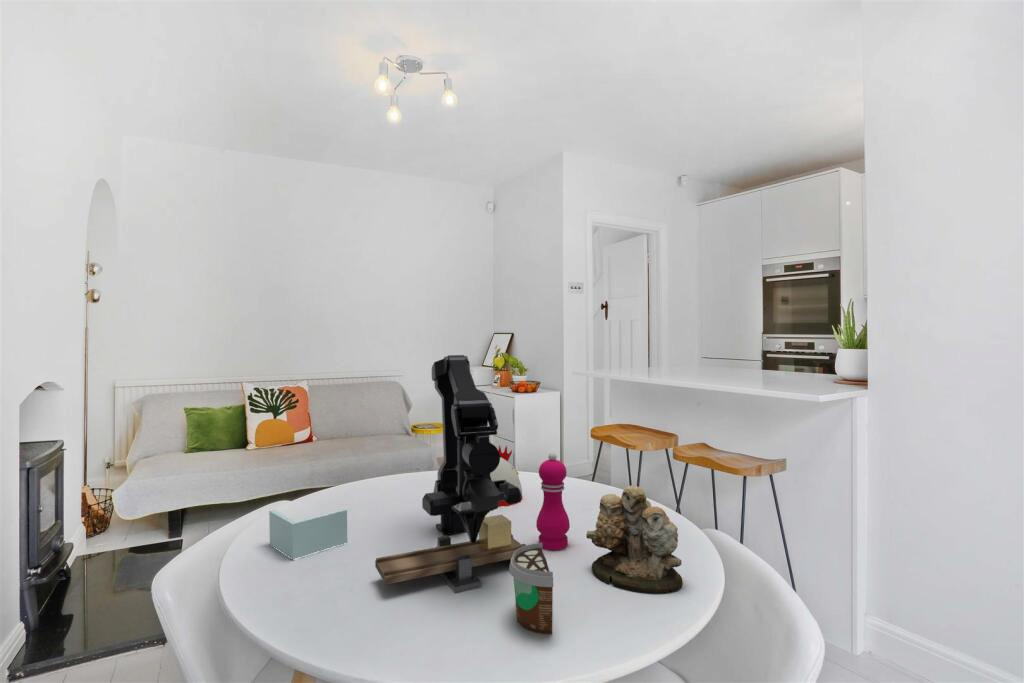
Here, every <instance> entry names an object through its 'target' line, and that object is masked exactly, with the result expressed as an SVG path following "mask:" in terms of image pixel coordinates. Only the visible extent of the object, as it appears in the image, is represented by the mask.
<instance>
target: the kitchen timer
mask: <svg viewBox="0 0 1024 683" xmlns="http://www.w3.org/2000/svg"><path fill="white" fill-rule="evenodd" d="M493 445H494V446H495V447H496V445H495V444H493ZM498 451H499V454H500V462H499V465H498V467H497V468H496V469H495V470H494V471H493V472H491V473H490V477H491V480H492V481H498V480H506V481H507V482H509V483H511V484H513V485H514V486H516V487H518V488H519V489H520V491H521V500H522V501H523V489H522V488H523V487H522V483H521V480H520V478H519V472H518V470H516V469H515V467H514V466H513V464H512V463H511V462H510V461H509V460H510V457H511V455H512V452H513V449H511V450H510V451H509V453H508V446H507V445H505V447H504V451H502V449H501V445H499V446H498ZM517 504H518V503H513V504H507V503H506V502H505V501H504V500H503V501H499V506H498V508H500V507H501V506H504V507H510V505H511V506H514V505H517Z"/></svg>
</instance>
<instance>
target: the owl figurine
mask: <svg viewBox="0 0 1024 683" xmlns="http://www.w3.org/2000/svg"><path fill="white" fill-rule="evenodd" d="M596 519H597V520H596V522H595V528H596V529H595V530H588V531H586V535H585V537H586V539H589V540H591V544H593V545H594V546H595V547H597V548H601V549H602V548H603V549H607V550H608V552H606V553H604V554H603V555H600V556H599V557H597V559H596V560H594V561H593V562H592V563H591V571H592V574H593V576H595V578H596V579H597V580H599V581H601V582H602V583H603V582H604V583H606V584H607V585H609V584H610V583H611V585H612V586H613V587H614V588H617V589H622V590H625V591H629V592H634V593H640V594H641V593H642V594H652V595H657V594H658V595H660V594H661V595H664V594H667V593H670V591H671V593H674V592H677V591H678V590H680V589H681V588H682V587H683V584H684V583H683V578H682V576H681V574H680V573H679V572H678V571H677V570H676V569H675V568H678V567H680V566H682V559H681V558H679V557H677V556H675V555H673V554H672V553H674V552H675V551H676V549H677V548H678V543H679V539H678V537H679V533H678V526H677V525H675V524H674V522H672V521H671V520H670V517H669V516H668V515H667V513H666V511H665V510H664V509H663V508H661V507H658V506H652V504H651V502H650V501H649V500H647V494H646V492H645V491H644V490H643V489H642V488H641V487H639V486H638V485H637V486H636V485H634V484H633V485H629V486H626V487H624V489H623V490H622V494H621V497H620V496H618V495H616V494H615V493H606V494H605V495H602V496H601V498H600V501H599V512H598V515H597V518H596ZM610 578H611V579H610Z"/></svg>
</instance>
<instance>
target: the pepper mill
mask: <svg viewBox="0 0 1024 683" xmlns="http://www.w3.org/2000/svg"><path fill="white" fill-rule="evenodd" d="M547 457H548V459H547V460H545V461H543V462H542V463H541V464H540V465H539V467H538V468H539V469H538V476H539V478H540V479H541V483H540V484H541V486H540V490H541V491H542V493H543V503H542V506H541V509H540V510H539V512H538V515H537V518H536V524H535V526H536V529H537V531H538V532H539V533H540V534H539V535H538V543H542V549H544V550H547V551H548V550H549V551H561V550H563V549H566V548H567V547H568V545H569V544H568V543H569V542H568V540H569V539H568V536H567V535H566V534H567V533H568V532H569V530H570V526H571V525H570V523H571V522H570V519H569V516H568V513H567V511H566V509H565V506H564V504H563V491H564V490H565V486H564V485H565V482H564V480H565V479H566V477H567V467H566V466H565V464H564V463H563V462H562V461H561V460H558V459H557V458H558V457H557V454H556V453H554V452H550V453H549V454H548V456H547Z"/></svg>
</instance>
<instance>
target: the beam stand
mask: <svg viewBox="0 0 1024 683" xmlns="http://www.w3.org/2000/svg"><path fill="white" fill-rule="evenodd" d="M436 543H437V545H436V547H440V546H446V545H451V544H452V537H451V536H450V535H444V536H440V537H437V538H436ZM503 561H504V562H505V563H506V565H508V566H510V562H511V559H507V560H503ZM439 575H440V576H441V578H442V579H443V578H444V579H443V580H444V582H446V584H447V583H448V584H449V585H448V584H447V585H448V586H449V587H450V589H451V590H452V589H453V590H452V591H453V592H454V593H455V594H457V593H461V592H465V591H469V590H474V589H478V588H482V581H481V580H480V578H478V576H477V575H476V574H475V573H474V572H473V571H472V567H471V557H470V556H469V555H467V556H462V557H457V558H456V570H454V571H449V572H444V573H439Z"/></svg>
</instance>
